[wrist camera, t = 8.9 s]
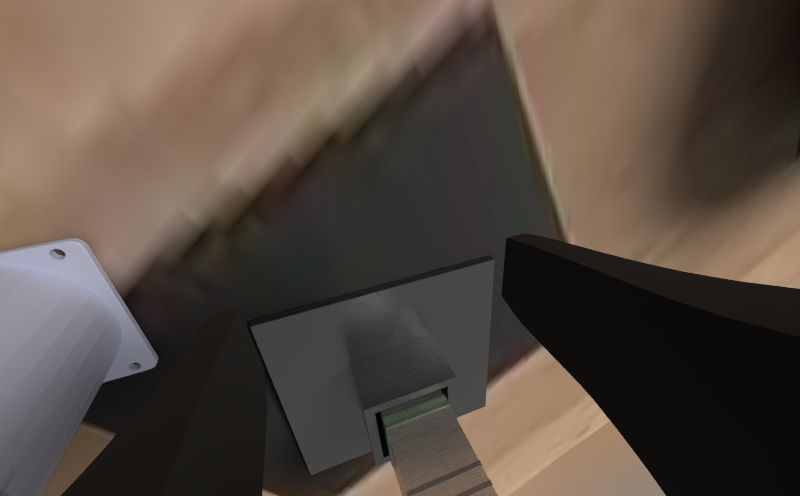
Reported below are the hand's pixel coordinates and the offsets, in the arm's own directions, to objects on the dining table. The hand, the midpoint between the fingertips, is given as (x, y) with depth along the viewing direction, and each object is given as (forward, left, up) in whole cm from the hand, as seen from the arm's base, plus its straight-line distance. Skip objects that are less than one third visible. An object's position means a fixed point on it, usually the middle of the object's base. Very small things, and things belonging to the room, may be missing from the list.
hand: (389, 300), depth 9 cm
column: (+2, -15, -7) cm, 17 cm away
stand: (+2, -15, -10) cm, 18 cm away
